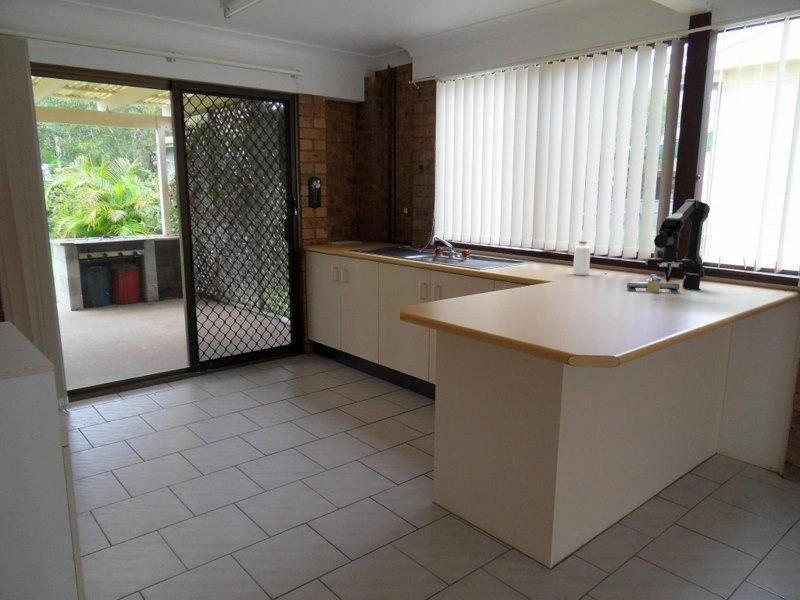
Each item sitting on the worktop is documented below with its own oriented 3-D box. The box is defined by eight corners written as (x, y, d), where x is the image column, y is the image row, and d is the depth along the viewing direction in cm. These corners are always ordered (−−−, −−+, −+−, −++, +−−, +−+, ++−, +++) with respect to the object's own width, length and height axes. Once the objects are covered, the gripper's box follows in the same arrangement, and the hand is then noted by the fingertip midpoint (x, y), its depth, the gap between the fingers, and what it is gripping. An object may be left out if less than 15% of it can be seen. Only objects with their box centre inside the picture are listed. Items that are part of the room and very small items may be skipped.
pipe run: (677, 291, 260) (678, 278, 259) (679, 293, 255) (680, 279, 254) (626, 289, 265) (627, 276, 264) (627, 291, 260) (628, 277, 259)
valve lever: (649, 276, 261) (649, 274, 260) (656, 277, 260) (656, 274, 260) (654, 281, 249) (654, 278, 248) (661, 281, 248) (661, 278, 248)
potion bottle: (586, 273, 313) (589, 240, 309) (590, 275, 304) (592, 242, 301) (571, 273, 313) (573, 240, 310) (574, 275, 305) (576, 242, 302)
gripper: (689, 245, 252) (686, 279, 255) (644, 244, 256) (641, 278, 259) (696, 247, 241) (692, 283, 244) (649, 246, 246) (645, 282, 249)
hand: (667, 281), depth 249 cm, fingers closed
